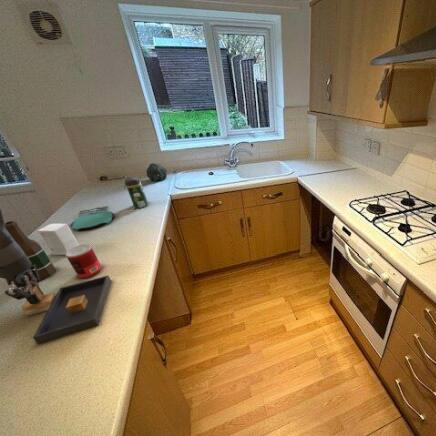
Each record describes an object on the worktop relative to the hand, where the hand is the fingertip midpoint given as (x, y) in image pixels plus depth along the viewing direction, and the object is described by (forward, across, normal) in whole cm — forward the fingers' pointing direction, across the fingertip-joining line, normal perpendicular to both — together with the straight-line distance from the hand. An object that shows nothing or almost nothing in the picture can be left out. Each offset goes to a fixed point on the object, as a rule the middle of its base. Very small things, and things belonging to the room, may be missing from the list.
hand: (37, 299), depth 79 cm
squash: (+4, -130, +32) cm, 134 cm away
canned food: (+4, -15, +10) cm, 18 cm away
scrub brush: (+4, 0, 0) cm, 4 cm away
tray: (+4, +6, +12) cm, 14 cm away
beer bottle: (+4, -22, -7) cm, 23 cm away
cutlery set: (+4, -71, 0) cm, 71 cm away
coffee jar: (+4, -79, +23) cm, 82 cm away
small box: (+4, -38, -4) cm, 38 cm away
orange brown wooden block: (+3, +6, +12) cm, 13 cm away
